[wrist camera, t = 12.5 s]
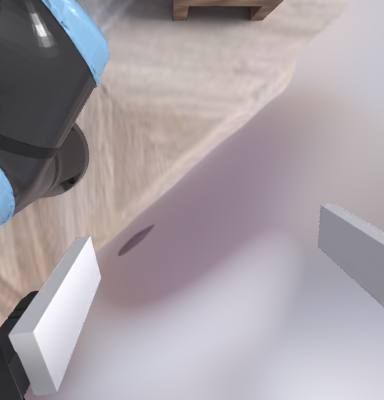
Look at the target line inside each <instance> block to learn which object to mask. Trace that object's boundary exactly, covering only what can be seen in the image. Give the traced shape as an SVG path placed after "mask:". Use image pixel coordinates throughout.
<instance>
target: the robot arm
mask: <svg viewBox="0 0 384 400" xmlns="http://www.w3.org/2000/svg"><path fill="white" fill-rule="evenodd" d="M108 59H109V47H108V43H107V40H106V38H105V37H104V35H103V33H102V32H101V30H100V29H99V28H98V26H97V25H96V24H95V23H94V21H93V20H92V19H91V18H90V17H89V15H88V14H87V13H86V12H85V11H84V10H83V9H82V8H81V7H80V5H79V4H78V3H77V2H76V1H75V0H0V225H2V224H4V223H6V222H7V221H8V219H9V218H11V217H12V216H13V215H15V214H16V213H18V212H19V211H21V210H22V209H23V208H25V207H26V206H28V205H29V204H31V203H32V202H33V201H35V200H36V199H38V198H39V197H52V196H56V195H60V194H62V193H64V192H66V191H68V190H70V189H71V188H72V187H74V186H75V185H76V184H77V183H78V182H79V181H80V180H81V179H82V177H83V176H84V174H85V172H86V170H87V167H88V162H89V150H88V145H87V142H86V139H85V136H84V134H83V133H82V131H81V129H80V128H79V127H78V125H77V124H76V123H75V121H76V119H77V117H78V115H79V114H80V112H81V110H82V108H83V107H84V105H85V103H86V101H87V99H88V98H89V96H90V94H91V92H92V91H93V89H94V88H96V87H97V86H98V83H99V77H100V75H101V73H102V71H103V69H104V67H105V65H106V63H107V61H108ZM318 247H319V248H320V249H321V250H322V251H323V252H324V253H325V254H326V255H327V256H328V257H330V258H331V259H332V260H333V261H334V262H335V263H336V264H337V265H338V266H339V267H340V268H342V269H343V270H344V271H345V272H346V273H347V274H348V275H349V276H350V277H351V278H352V279H354V280H355V281H356V282H357V283H358V284H359V285H360V286H361V287H362V288H363V289H364V290H365V291H366V292H368V293H369V294H370V295H371V296H372V297H373V298H374V299H375V300H376V301H377V302H378V303H380V304H381V305H382V306H383V307H384V232H383V231H381V230H379V229H378V228H376V227H374V226H372V225H371V224H369V223H367V222H365V221H364V220H362V219H360V218H358V217H357V216H355V215H353V214H352V213H350V212H348V211H346V210H345V209H343V208H341V207H339V206H338V205H336V204H334V203H332V204H324V205H321V208H320V225H319V240H318ZM100 279H101V276H100V272H99V268H98V265H97V261H96V257H95V253H94V249H93V245H92V242H91V238H90V236H86V237H79V238H75V240H74V241H73V243H72V244H71V246H70V247H69V249H68V250H67V251H66V253H65V254H64V256H63V257H62V259H61V260H60V262H59V263H58V264H57V266H56V267H55V269H54V270H53V272H52V273H51V275H50V276H49V277H48V279H47V280H46V282H45V283H44V285H43V286H42V287H41V289H40V290H39V291H33V292H31V293H29V294H28V295H27V296H26V297H24V298H23V299H22V300H21V301H20V302H19V303H18V305H17V306H16V307H15V309H14V311H13V312H12V313H11V314H10V315H9V317H8V319H7V320H6V321H5V322H4V323H3V324H2V326H1V327H0V400H25V398H24V395H25V393H26V390H27V389H28V387H29V385H30V386H31V388H32V391H33V393H34V395H35V396H38V395H45V394H50V393H57V392H58V389H59V386H60V384H61V381H62V379H63V376H64V373H65V371H66V368H67V366H68V363H69V360H70V358H71V355H72V353H73V350H74V347H75V345H76V342H77V339H78V337H79V334H80V332H81V329H82V326H83V324H84V321H85V319H86V316H87V313H88V311H89V308H90V306H91V303H92V300H93V298H94V295H95V292H96V290H97V287H98V285H99V282H100Z"/></svg>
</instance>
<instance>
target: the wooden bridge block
mask: <svg viewBox="0 0 384 400" xmlns="http://www.w3.org/2000/svg"><path fill="white" fill-rule="evenodd" d="M282 1H283V0H172V4H173V20H186V19H187V14H188V9H189V6H251V9H250V20H263V19H264V18H265V17H266V16H267V15H268V14H270V13H271V12H272V11H273V10H274V9H275V8H276V7H277V6H278V5H279V4H280V3H281V2H282Z"/></svg>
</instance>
